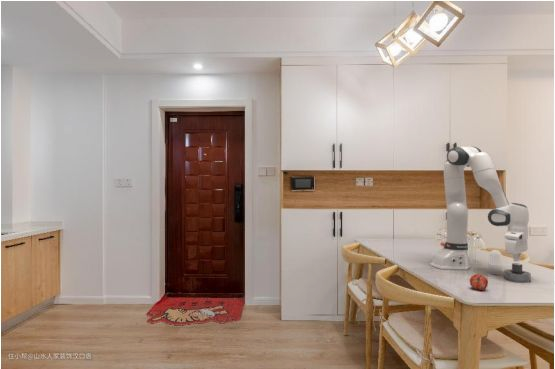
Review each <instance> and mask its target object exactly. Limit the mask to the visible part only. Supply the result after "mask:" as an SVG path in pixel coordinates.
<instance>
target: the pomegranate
mask: <svg viewBox="0 0 555 369" xmlns="http://www.w3.org/2000/svg"><path fill="white" fill-rule="evenodd" d="M488 283H489V282H488V278H487V277H485V276H484V275H482V274H481V273H475V274H474V275H471V276H470V278H469V284H470V286H471V288H473V289H474V290H479V291H484V290H486V289H487V287H488Z"/></svg>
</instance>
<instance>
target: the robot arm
mask: <svg viewBox="0 0 555 369" xmlns="http://www.w3.org/2000/svg"><path fill="white" fill-rule="evenodd" d="M446 160H447V161H445V163H444V167H443V182H444V184H443V185H444V192H445V193H444V194H445V202H446V241H445V242H442V241H441V242H440V243H439V244H440V246H442V247H443V248H442V249H441V250H439V251H438V252H436V253H435V254H434V256H433V259H432V261H431V262H429V263H428V264H429V266H431V267H433V268H436V269H440V270H463V271H464V270H465V271H466V270H469V269H470V268H471V267H470V262H469V258H468V257H469V256H468V250H469V243H468V225H469V224H468V220H469V208H468V205H467V194H466V192H467V191H466V181H465V180H466V179H465V173H464V172H465V171H464V170H465V168H466V167H467V168H469V167H470V168H471V171H472V174H473V178H474V180H475V182H476V184H477V185H478V186H479V187H481V188H482V189H484V190H486V191H487V192H488V193H489V194H490V196H491V198H492V200H493V202H494V205H495V207H496V208H494V209H492V210H490V211H489V212H488V214H487V220H488V222H489V223H490V224H491V225H492V226H494V227H495V226H496V227H507V231H506V233H505V234H504V239H505V245H504V246H505V253H506V254H507V255H512V258H513V262H514V263H517V262H520V258H521V255H522V254H521V253H524V252H527V251H528V239H529V228H528V224H529V222H530V221H529V220H530V219H529V218H530V217H529V216H530V215H529V208H528V206H527V205H525V204H523V203H516V202H510V203H509V201H508V198H507V196H506V194H505V191H504V190H503V187H502V183H501V182H500V178H499V176H498V172H497V169H496V166H495V165H494V162H493V160H492V158H491V157H490V155H489V154H488V152H485V151H482V150H481V149H480V148H478V146H477V147H476V146H468V145H467V146H466V145H464V146H457V147H456V146H455V147H452V148H450V149H449V150H448V151H447V154H446Z"/></svg>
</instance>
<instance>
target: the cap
mask: <svg viewBox="0 0 555 369" xmlns="http://www.w3.org/2000/svg"><path fill="white" fill-rule="evenodd" d="M511 269H512V272H514V273H522V271H523V264H521V263H517V262H513V263H511Z"/></svg>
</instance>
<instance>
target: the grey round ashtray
mask: <svg viewBox="0 0 555 369" xmlns="http://www.w3.org/2000/svg"><path fill="white" fill-rule="evenodd" d="M503 271H504V273H503V274H504V275H503V278H504V279H505V280H506V281H510V282H514V283H523V284H524V283H530V282H532V280H531V278H532V277H531V275H532V274H531V272H529V271H526V270H522V273H514V272H512V268H510V269H508V268H507V269H505V270H503Z"/></svg>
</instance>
